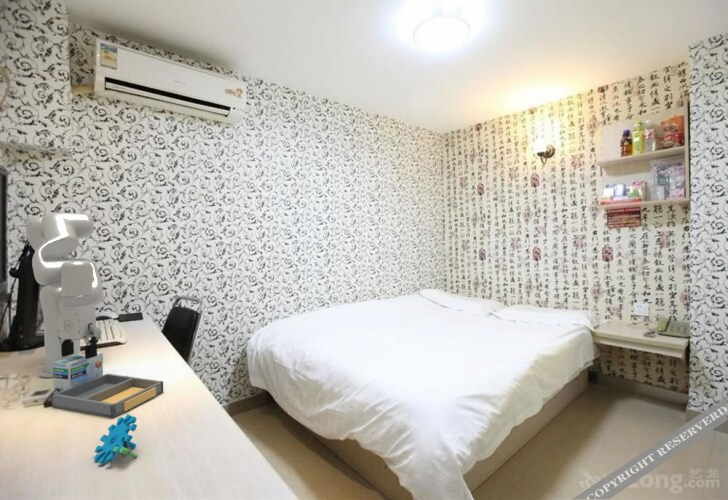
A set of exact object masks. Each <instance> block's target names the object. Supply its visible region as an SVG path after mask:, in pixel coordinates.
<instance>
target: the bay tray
mask: <svg viewBox="0 0 728 500" xmlns="http://www.w3.org/2000/svg"><path fill="white" fill-rule="evenodd" d="M163 393H164V381H163V380H155V379H149V378H148V379H147V378H143V377H142V378H141V377H134V376H128V375H121V374H113V373H106V374H103V376H100V377H97V378H95V379H92V380H89V381H87V382H84V383H82V384H79V385H76V386H74V387H71V388H69V389H66V390H63V391H61V392H58V393H55V394H54V393H53V394H51V407H52V408H55V409H59V410H65V411H71V412H77V413H82V414H88V415H93V416H97V417H104V418H108V419H115V418H118V417H119V416H121V415H123V414H125V413H127V412H128V411H130V410H132V409H134V408H136V407H138V406H140V405H142V404H144V403H146V402H148V401H149V400H152V399H154V398H155V397H157V396H159V395H161V394H163Z"/></svg>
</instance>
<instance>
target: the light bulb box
mask: <svg viewBox="0 0 728 500" xmlns="http://www.w3.org/2000/svg"><path fill="white" fill-rule="evenodd" d="M103 355H104V353H103V352H99V351H97V356H95V357H92V358H89V359H85V351H84V352H80V353H79V354H76V355H73V356H70V357H67V358H64V359H61V360H58V361H54V362H53V377H52V378H53V394H54V393H58V392H61V391H63V390H66V389H69V388H71V387H74V386H76V385H79V384H82V383H84V382H87V381H89V380H92V379H95V378H97V377H100V376H103V375H104V365H103V364H104V360H103V359H104V356H103Z"/></svg>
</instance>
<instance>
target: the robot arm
mask: <svg viewBox="0 0 728 500" xmlns="http://www.w3.org/2000/svg"><path fill="white" fill-rule="evenodd" d="M94 230H95V225H94V220H93V218H92V217H91V216H90V215H88V214H86V213H79V212H78V213H77V212H63V211H62V212H58V211H57V212H49V213H47V214H45V215H44V216H33V217H32V218H30V219H28V220H26V223H25V233H26V237H27V240H28V243H29V244H30V246H31V248H32V249H33V250H34V253H33V255H32V260H31V264H32V266H31V267H32V270H33V274H34V275H33V276H34V279H35V281H36V282H37V283H38V284H39V285H42V286H44V287H42V288H41V289H40V291H39V301H40V305H41V306H40V307H41V310H42V316H43V330H44V331H43V332H44V333H43V334H44V337H43V338H44V359H43V360H41V361H40V364H41V365H43V366H44V368H43V369H41V370H39V373H38V374H39V377H40V378H47V379H48V378H50V379H51V378H54V377H53V362H54V361H58V360H61V359H64V358H67V357H70V356H73V355H76V354H79V353H81V340H83V342H84V343H85V345H84V352H85V359H89V358H92V357H95V356H97V352H98V343H99V340H100V339H101V335H102V329H100V328H99V327H98V326H97V319H96V317H97V316H96V311H95V306H98V305H100V304H102V302H103V300H104V289H103V283H102V281H101V278H100V274H99V270H98V266H97V264H96V262H95V261H94V260H92V259H90V258H70V255H69V254H71V253H73V252H74V251H76V250H77V249H78V247H79V244H80V241H79V240H81V239H85V238H88V237H90V236H91V235H93V233H94Z"/></svg>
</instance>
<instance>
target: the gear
mask: <svg viewBox="0 0 728 500" xmlns="http://www.w3.org/2000/svg"><path fill="white" fill-rule="evenodd" d="M136 422H137V417H136V416H134V415H133V416H132V415H131V414H126V415H125V417H122V416H121V417H118V419H117V421H116V424H114V423H113V424H111V425H110V426H109V427H108V428H107V430H108V435H106V434H103V435H102V436H101V437H100V438H99V442H102V443H103V445H97V446H96V448H95V449H94V453H96V455H94V458H93V462H94V461H95V462H97V463H98V464H100V465H103V466H104V465H105V463H106V461H107V462H110V463H111V462H113V461H114V460H115V458H116V454H119V455H121V457H123V458H126V457H130V458H132V459H137V458H138V456H139V455H138V454H137V453H134V452H131V449H132V450H133V449H136V446H137V444H136V443H135V442H133V441H132V439H133V438H134V436H133V435H131V434H129V432H130V431H131V432H134V431H136V429H137V426H138V425H137V424H135V423H136Z"/></svg>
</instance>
